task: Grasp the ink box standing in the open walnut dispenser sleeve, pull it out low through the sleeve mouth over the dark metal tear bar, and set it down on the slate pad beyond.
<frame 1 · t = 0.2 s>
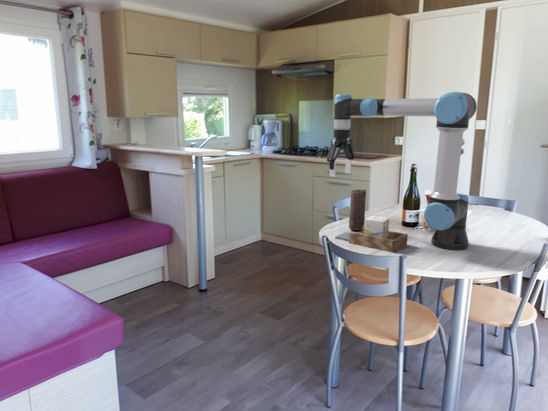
hand: (340, 174, 207), 28 cm above the table, fingers open, 13 cm apart
slate pad: (348, 237, 205), on the table
dispenser sleeve: (375, 243, 196), on the table
candle: (356, 230, 217), on the table
ink box: (375, 244, 196), resting in dispenser sleeve
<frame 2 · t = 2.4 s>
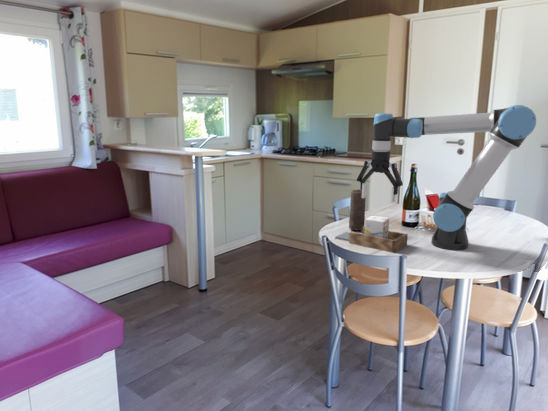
hand: (378, 199, 191), 20 cm above the table, fingers open, 13 cm apart
nothing on the table moved.
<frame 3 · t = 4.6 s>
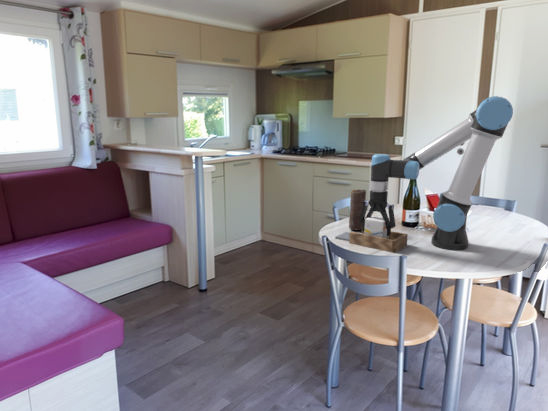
hand: (375, 240, 195), 1 cm above the table, fingers closed on ink box, 9 cm apart
ink box: (375, 244, 196), resting in dispenser sleeve, touching gripper
everything else where it was.
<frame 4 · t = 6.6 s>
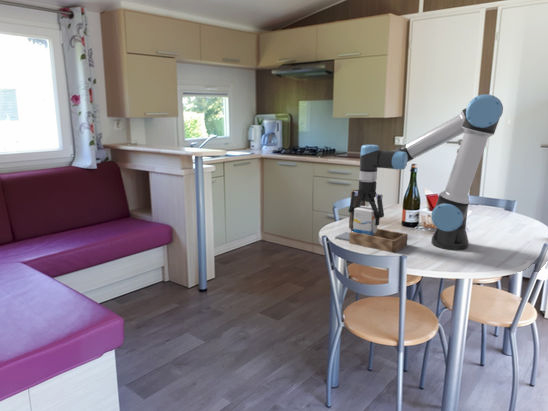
hand: (364, 230, 198), 5 cm above the table, fingers closed on ink box, 9 cm apart
ink box: (364, 233, 198), point 3 cm above the table, touching gripper
everything else where it was.
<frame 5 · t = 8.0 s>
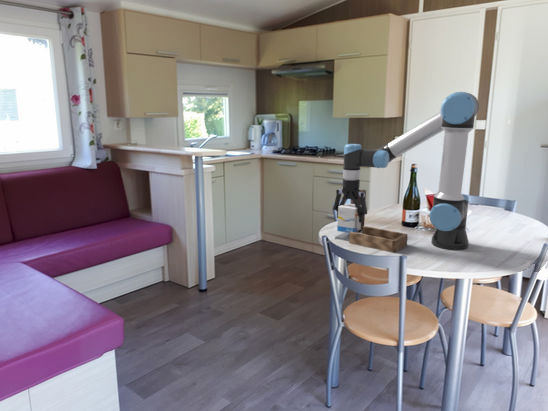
hand: (349, 227, 203), 5 cm above the table, fingers closed on ink box, 9 cm apart
ink box: (349, 230, 204), point 3 cm above the table, touching gripper
everything else where it was.
when the fingers open (3 cm above the table, at t = 9.0 s): ink box stays where it is, resting on dispenser sleeve, slate pad.
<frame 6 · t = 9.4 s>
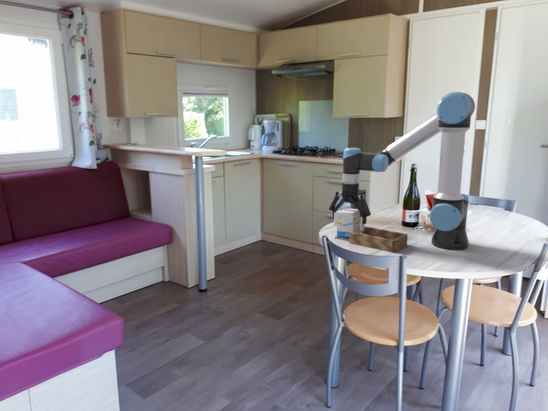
hand: (348, 228, 204), 4 cm above the table, fingers open, 13 cm apart
ink box: (348, 235, 204), point 1 cm above the table, touching dispenser sleeve, slate pad
everything else where it was.
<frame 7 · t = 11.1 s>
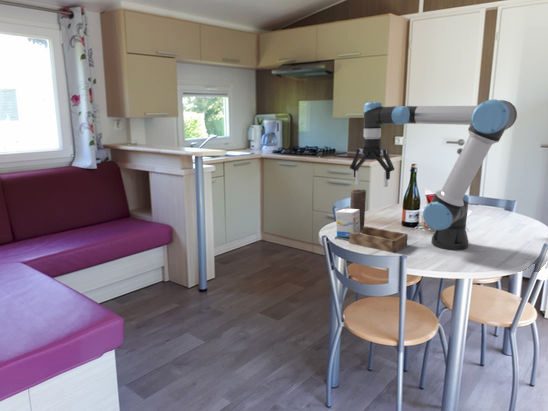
hand: (371, 185, 200), 24 cm above the table, fingers open, 13 cm apart
nothing on the table moved.
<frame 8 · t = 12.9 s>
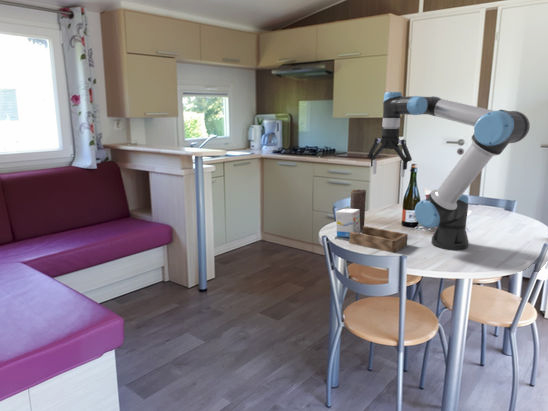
hand: (387, 175, 200), 29 cm above the table, fingers open, 13 cm apart
nothing on the table moved.
at the end: ink box inside the target area on the slate pad (0.2 cm from its centre), point 1.0 cm above the slate pad's base; ink box tilted 5°; the gripper is holding nothing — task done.
